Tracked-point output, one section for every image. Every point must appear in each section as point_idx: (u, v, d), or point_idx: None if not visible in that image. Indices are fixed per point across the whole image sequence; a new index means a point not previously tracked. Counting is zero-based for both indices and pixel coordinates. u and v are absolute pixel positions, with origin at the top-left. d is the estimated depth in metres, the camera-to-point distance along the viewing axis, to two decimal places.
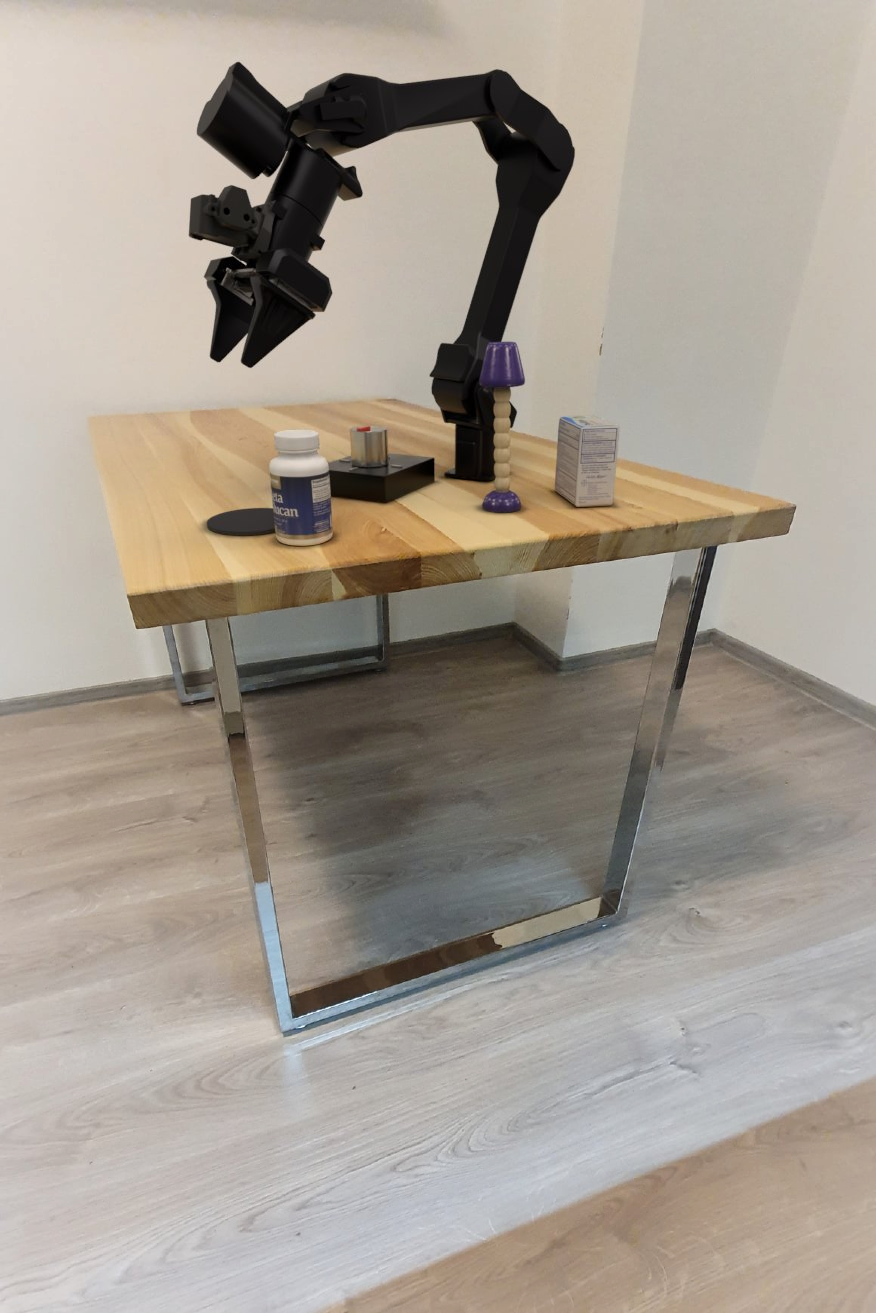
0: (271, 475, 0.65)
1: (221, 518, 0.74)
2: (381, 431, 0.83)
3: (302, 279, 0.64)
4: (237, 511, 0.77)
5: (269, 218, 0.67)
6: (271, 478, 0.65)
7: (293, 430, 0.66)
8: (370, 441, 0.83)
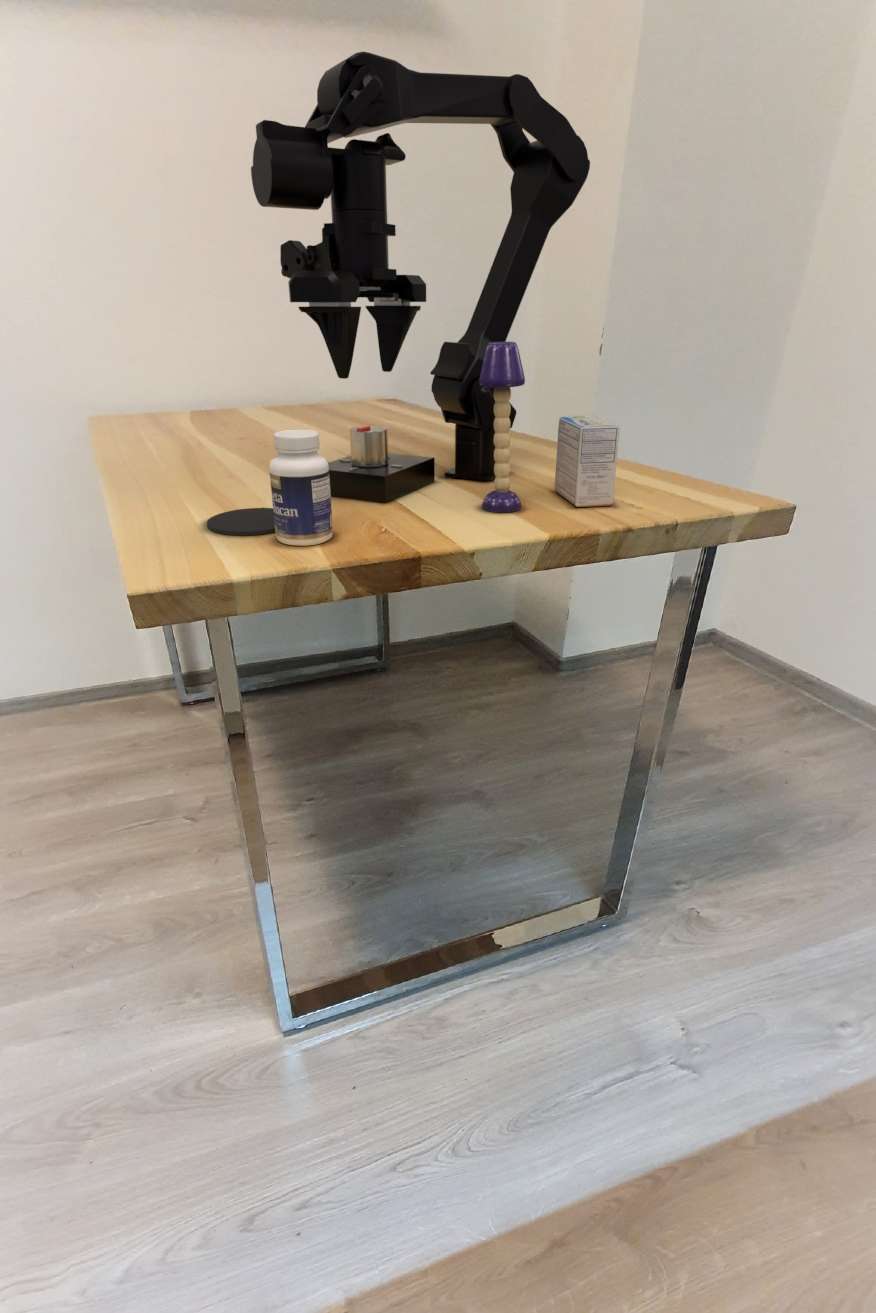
0: (271, 475, 0.65)
1: (221, 518, 0.74)
2: (381, 431, 0.83)
3: (309, 290, 0.71)
4: (237, 511, 0.77)
5: (325, 242, 0.75)
6: (271, 478, 0.65)
7: (293, 430, 0.66)
8: (370, 441, 0.83)
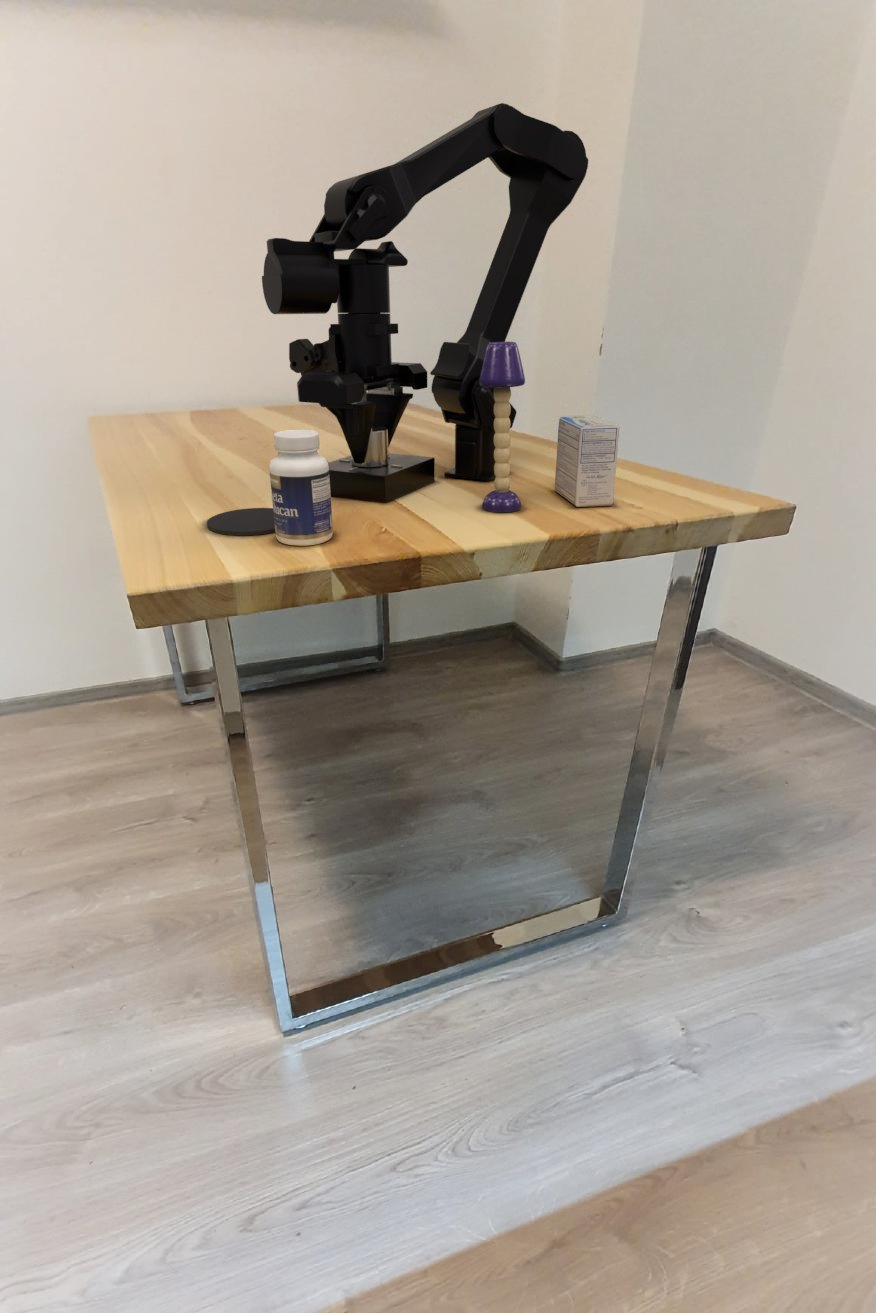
0: (271, 475, 0.65)
1: (221, 518, 0.74)
2: (381, 431, 0.83)
3: (317, 392, 0.75)
4: (237, 511, 0.77)
5: (331, 341, 0.79)
6: (271, 478, 0.65)
7: (293, 430, 0.66)
8: (370, 441, 0.83)
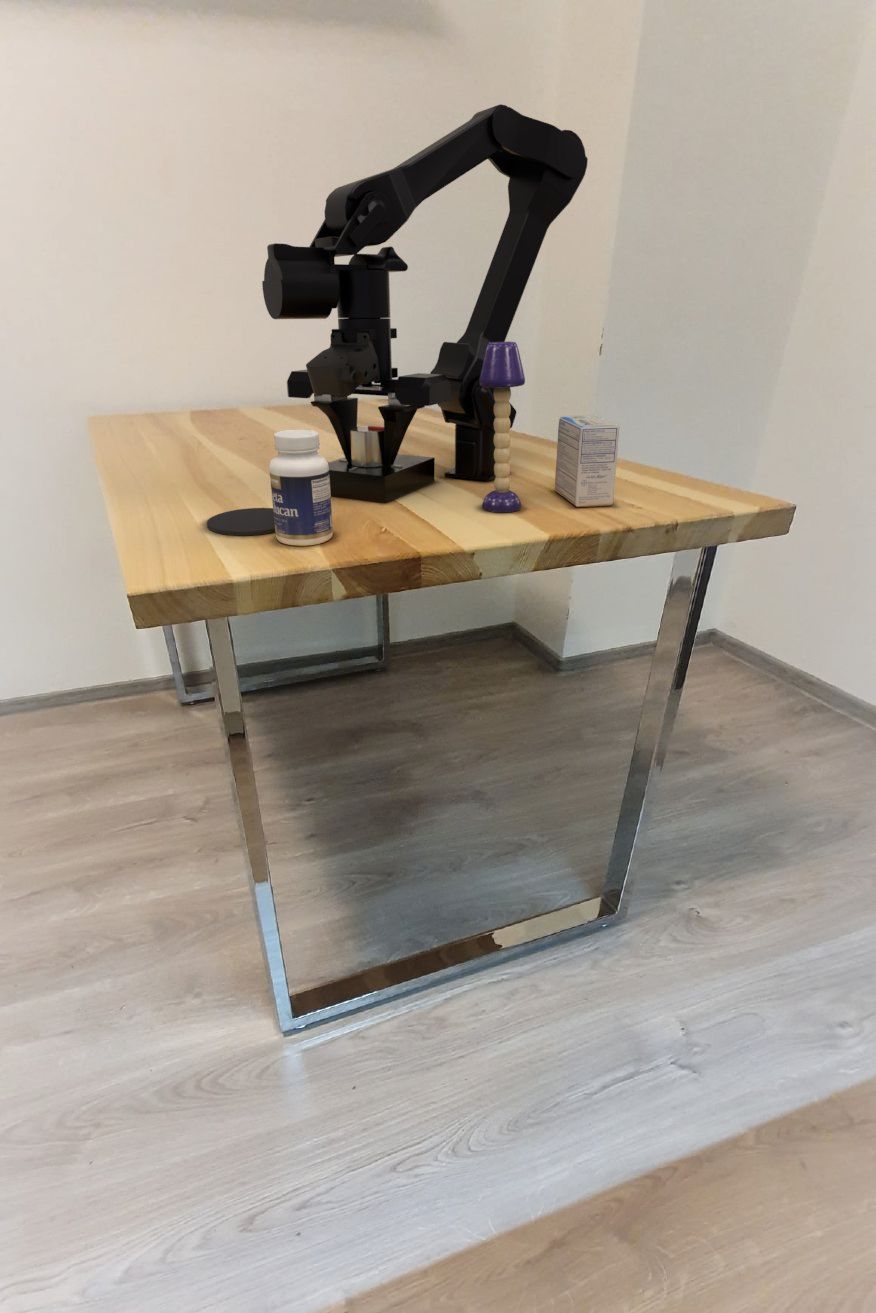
0: (271, 475, 0.65)
1: (221, 518, 0.74)
2: (382, 427, 0.86)
3: (439, 392, 0.78)
4: (237, 511, 0.77)
5: (371, 347, 0.77)
6: (271, 478, 0.65)
7: (293, 430, 0.66)
8: None
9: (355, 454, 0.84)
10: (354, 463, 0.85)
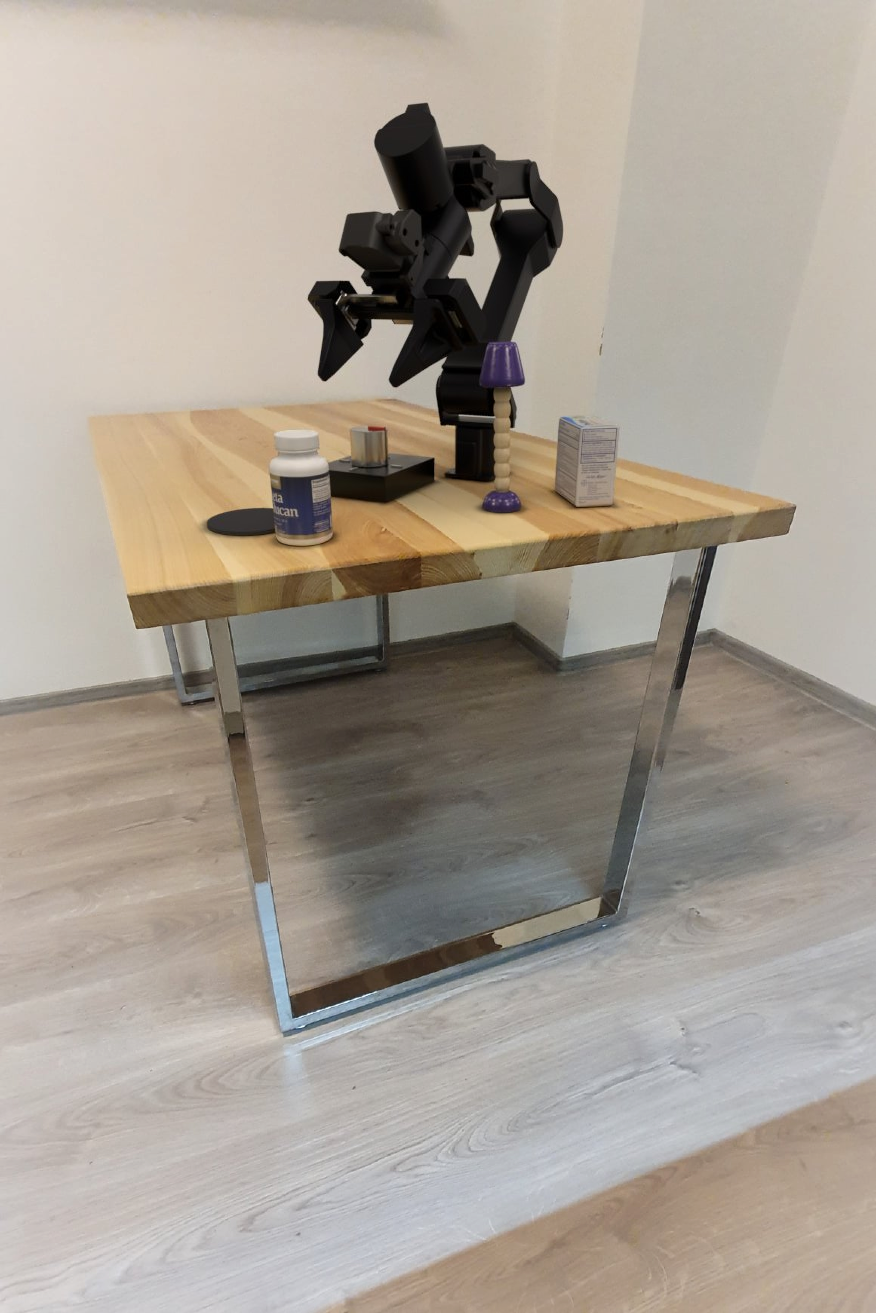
0: (271, 475, 0.65)
1: (221, 518, 0.74)
2: (382, 427, 0.86)
3: (472, 310, 0.66)
4: (237, 511, 0.77)
5: (421, 251, 0.68)
6: (271, 478, 0.65)
7: (293, 430, 0.66)
8: None
9: (355, 454, 0.84)
10: (354, 463, 0.85)
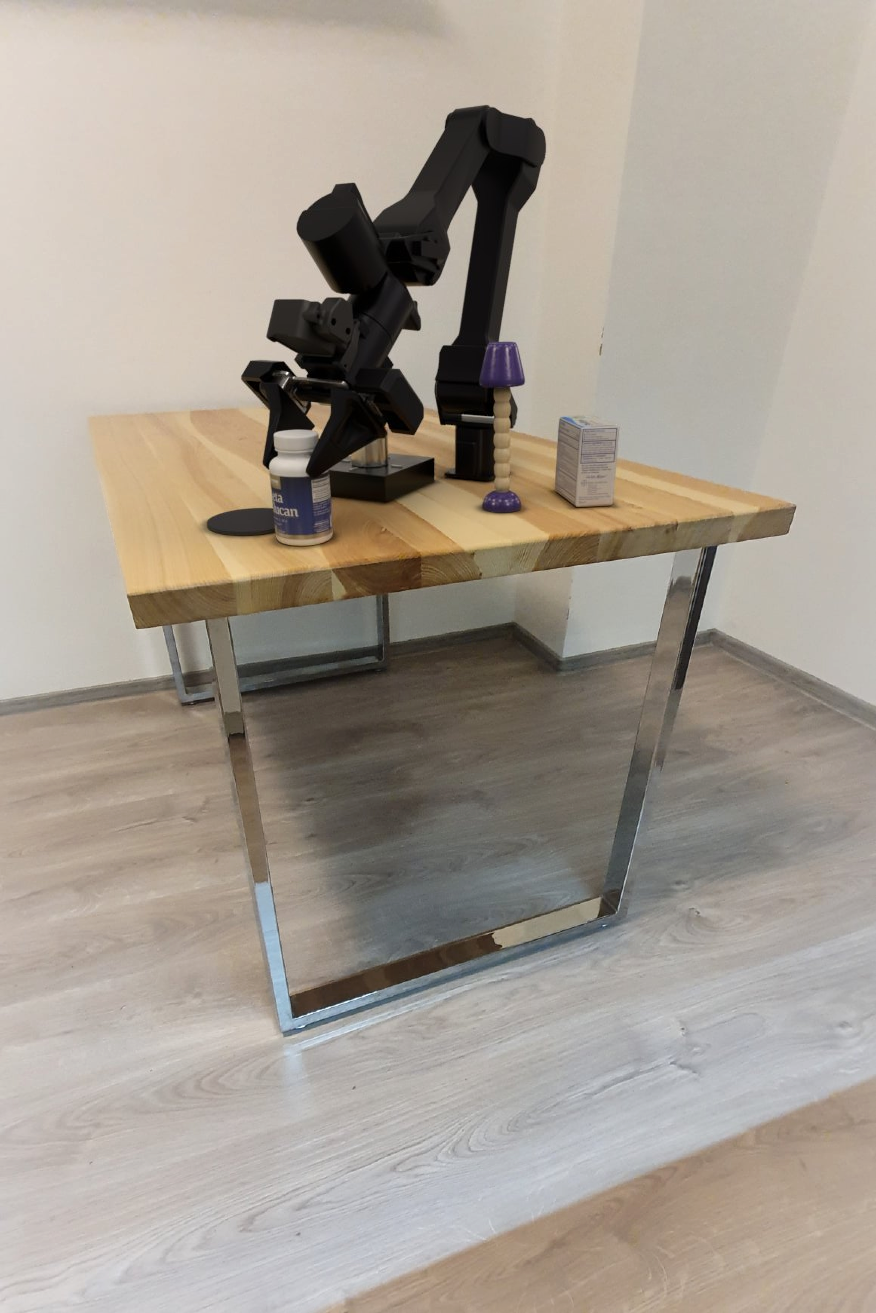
0: (271, 475, 0.65)
1: (221, 518, 0.74)
2: None
3: (407, 401, 0.62)
4: (237, 511, 0.77)
5: (356, 335, 0.64)
6: (271, 478, 0.65)
7: (293, 430, 0.66)
8: None
9: (355, 454, 0.84)
10: (354, 463, 0.85)
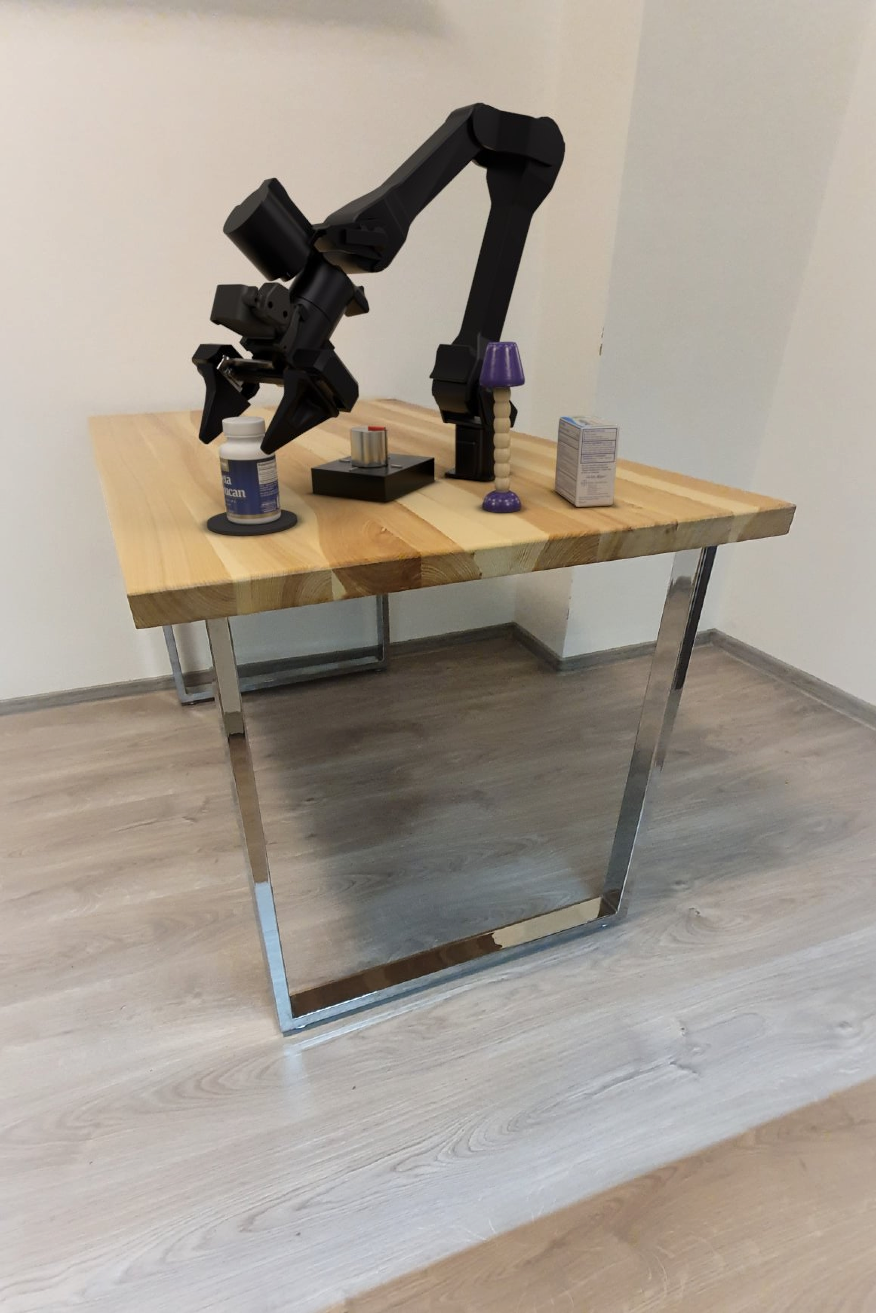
0: (220, 458, 0.70)
1: (221, 518, 0.74)
2: (382, 427, 0.86)
3: (341, 380, 0.66)
4: None
5: (296, 318, 0.69)
6: (220, 461, 0.70)
7: (241, 417, 0.71)
8: None
9: (355, 454, 0.84)
10: (354, 463, 0.85)
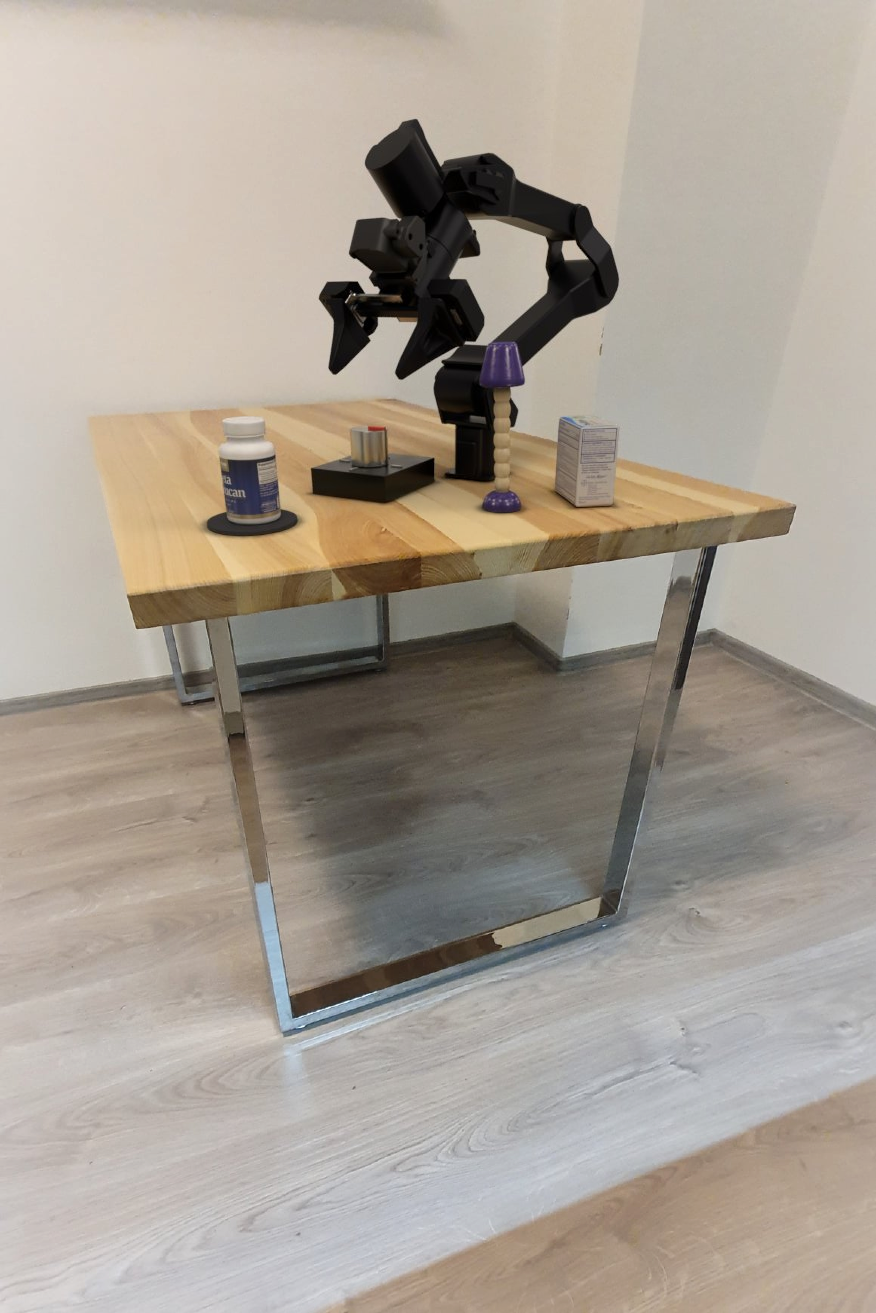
0: (220, 458, 0.70)
1: (221, 518, 0.74)
2: (382, 427, 0.86)
3: (471, 309, 0.71)
4: None
5: (425, 253, 0.74)
6: (220, 461, 0.70)
7: (241, 417, 0.71)
8: None
9: (355, 454, 0.84)
10: (354, 463, 0.85)
